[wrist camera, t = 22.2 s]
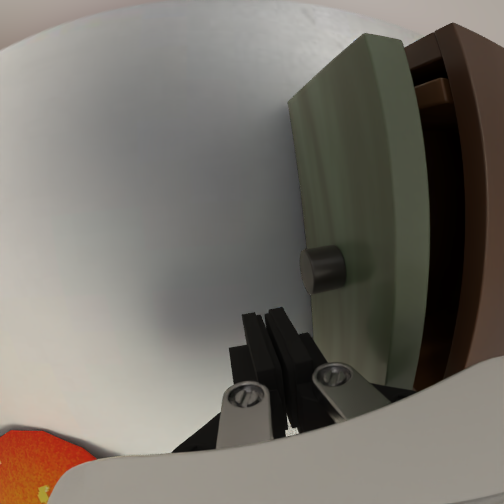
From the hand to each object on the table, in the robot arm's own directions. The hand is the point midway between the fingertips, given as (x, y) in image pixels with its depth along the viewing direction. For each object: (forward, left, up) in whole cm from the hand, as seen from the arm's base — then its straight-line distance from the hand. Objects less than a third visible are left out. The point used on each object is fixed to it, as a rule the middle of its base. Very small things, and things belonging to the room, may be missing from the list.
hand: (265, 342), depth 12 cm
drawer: (-3, +10, -3) cm, 11 cm away
